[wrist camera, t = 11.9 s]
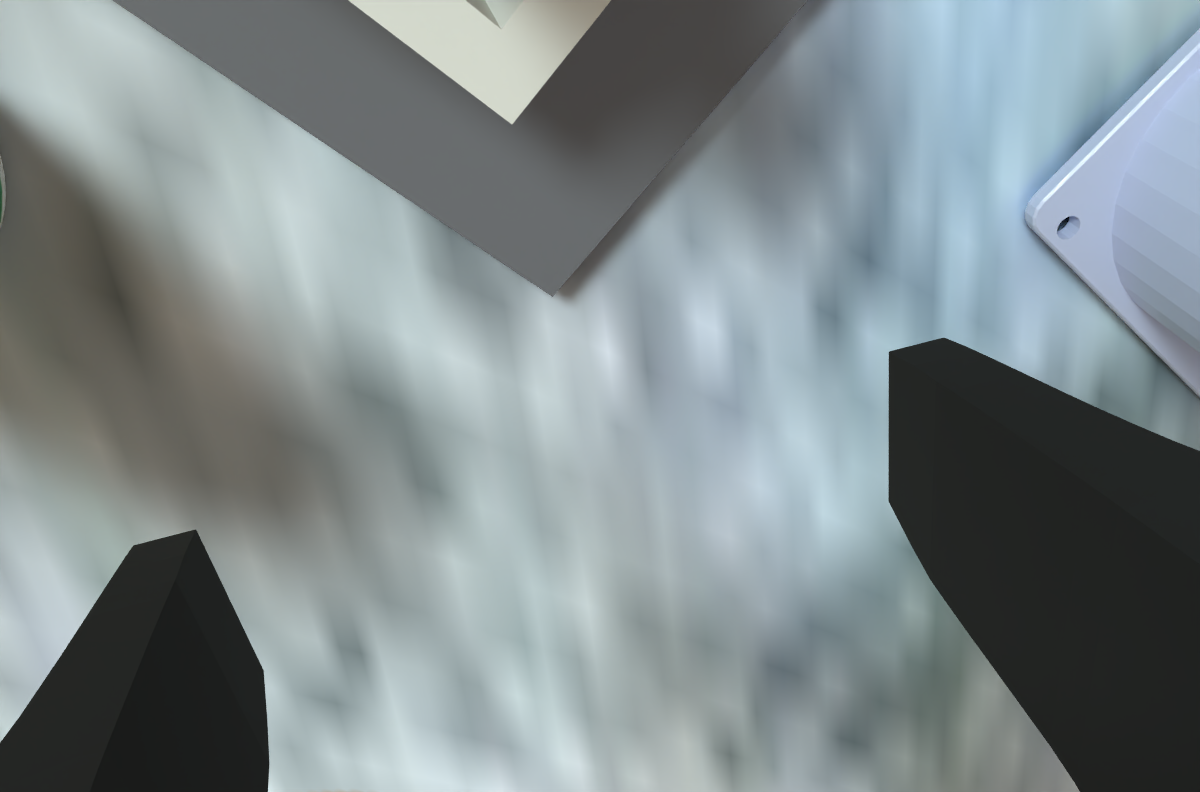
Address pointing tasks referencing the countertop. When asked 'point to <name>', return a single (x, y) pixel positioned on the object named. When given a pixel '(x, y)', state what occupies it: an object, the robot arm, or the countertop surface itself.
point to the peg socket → (490, 98)
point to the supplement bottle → (2, 192)
